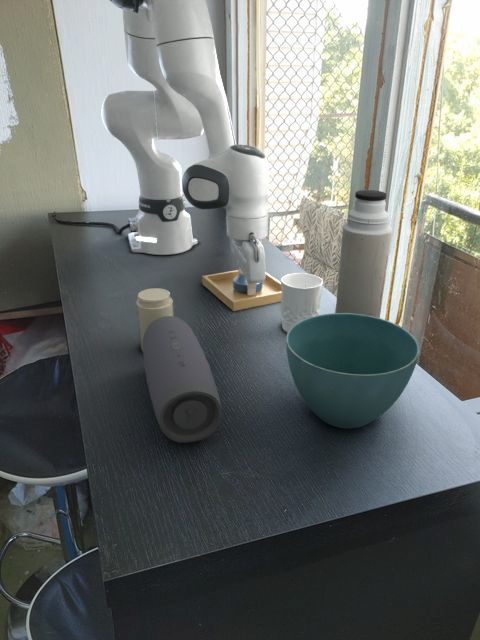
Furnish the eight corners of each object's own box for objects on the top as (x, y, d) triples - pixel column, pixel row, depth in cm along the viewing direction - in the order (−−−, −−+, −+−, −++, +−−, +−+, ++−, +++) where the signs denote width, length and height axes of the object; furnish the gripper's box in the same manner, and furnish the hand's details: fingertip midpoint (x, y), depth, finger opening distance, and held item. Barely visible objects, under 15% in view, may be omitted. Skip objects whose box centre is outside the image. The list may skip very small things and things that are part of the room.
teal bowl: (319, 465, 68) (327, 386, 62) (263, 393, 82) (265, 323, 76) (431, 433, 74) (448, 358, 68) (361, 371, 89) (370, 305, 83)
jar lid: (268, 285, 119) (268, 278, 118) (252, 295, 114) (252, 287, 113) (243, 279, 122) (243, 272, 121) (227, 288, 117) (227, 281, 116)
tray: (202, 284, 122) (202, 275, 121) (257, 274, 128) (258, 266, 127) (233, 311, 109) (233, 302, 108) (293, 299, 115) (293, 290, 114)
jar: (135, 344, 96) (130, 291, 91) (166, 336, 99) (162, 284, 94) (149, 358, 91) (144, 304, 86) (181, 349, 94) (178, 296, 89)
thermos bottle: (375, 339, 99) (396, 188, 86) (375, 359, 92) (397, 199, 79) (333, 334, 101) (347, 185, 87) (330, 354, 94) (344, 195, 80)
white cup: (323, 322, 105) (327, 276, 100) (313, 340, 98) (317, 290, 94) (285, 316, 107) (287, 270, 102) (274, 333, 101) (275, 284, 96)
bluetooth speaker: (227, 444, 71) (226, 382, 66) (158, 456, 69) (152, 392, 64) (197, 362, 90) (195, 310, 85) (142, 369, 88) (137, 315, 83)
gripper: (273, 240, 103) (271, 304, 110) (251, 214, 121) (250, 270, 127) (242, 242, 102) (242, 307, 109) (224, 215, 119) (225, 272, 126)
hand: (246, 287), depth 118 cm, fingers closed on jar lid, 7 cm apart
